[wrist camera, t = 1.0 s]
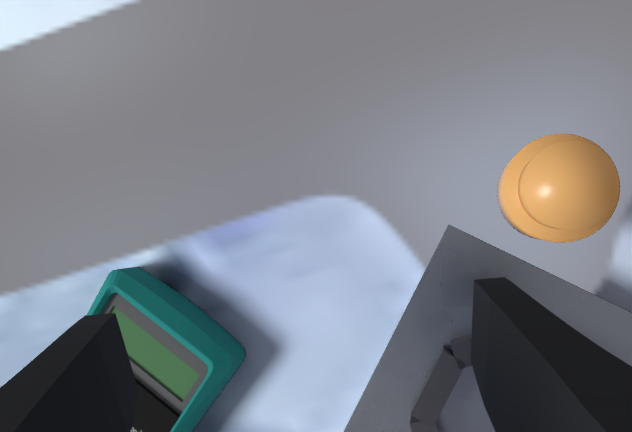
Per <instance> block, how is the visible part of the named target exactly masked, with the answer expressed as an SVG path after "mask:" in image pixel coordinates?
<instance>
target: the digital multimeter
mask: <svg viewBox="0 0 632 432" xmlns="http://www.w3.org/2000/svg"><path fill="white" fill-rule="evenodd" d="M108 313H115V314H116V317H117V320H118V324H119V327H120V330H121V334H122V337H123V340H124V344H125V347H126V350H127V354H128V357H129V360H130V364H131V367H132V370H133V374H134V377H135V380H136V384H137V387H138V396H137V401H136V407H135V412H134V417H133V422H132V427H131V431H130V432H193V430H194V429H195V427H196V426H197V424H198V423H199V421H200V420H201V419H202V417H203V416H204V415H205V413H206V412H207V410H208V409H209V408H210V406H211V405H212V404H213V402H214V401H215V399H216V398H217V397H218V395H219V394H220V393H221V391H222V390H223V388H224V387H225V386H226V384H227V383H228V382H229V380H230V379H231V378H232V376H233V375H234V373H235V372H236V371H237V369H238V368H239V367H240V365H241V364H242V362H243V361H244V359H245V349H244V348H243V347H242V346H241V345H240V344H239V343H238V342H237V341H236V340H235V339H234V338H233V337H232V336H231V335H230V334H229V333H227V332H226V331H225V330H224V329H223V328H222V327H221V326H220V325H219V324H217V323H216V322H215V321H214V320H213V319H212V318H211V317H209V316H208V315H207V314H206V313H205V312H204V311H202V310H201V309H200V308H199V307H197V306H196V305H195V304H193V303H192V302H191V301H189V300H188V299H187V298H185V297H184V296H183V295H181V294H180V293H178V292H177V291H175V290H174V289H172V288H171V287H169V286H168V285H167V284H165V283H164V282H162V281H160V280H159V279H157V278H156V277H154V276H152V275H151V274H149V273H148V272H146V271H144V270H143V269H141V268H139V267H132V268H125V269H118V270H113V271H112V272H111V273H110V274H109V275H108V277H107V278H106V280H105V282H104V284H103V286H102V288H101V289H100V291H99V293H98V295H97V297H96V299H95V300H94V302H93V304H92V306H91V308H90V310H89V312H88V313H87V315H98V314H108ZM87 315H86V316H87ZM174 424H175V425H174ZM172 427H173V428H172Z"/></svg>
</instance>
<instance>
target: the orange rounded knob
mask: <svg viewBox="0 0 632 432" xmlns="http://www.w3.org/2000/svg"><path fill="white" fill-rule="evenodd" d="M619 194H620V182H619V176H618V172H617V169H616V167H615V165H614V163H613V161H612V160H611V158H610V157H609V155H608V154H607V153H606V152H605V151H604V150H603V149H602V148H601V147H600V146H598V145H597V144H595V143H594V142H592V141H590V140H588V139H586V138H583V137H580V136H576V135H570V134H554V135H548V136H545V137H541V138H539V139H537V140H534V141H533V142H531V143H529V144H528V145H526V146H525V147H524V148H523V149H522V150H520V151H519V152H518V153H517V154H516V155H515V156H514V157H513V158H512V159H511V160H510V161H509V163H508V164H507V165H506V166H505V168H504V169H503V171H502V173H501V175H500V178H499V181H498V186H497V199H498V204H499V208H500V210H501V213H502V214H503V216H504V218H505V219H506V220H507V222H508V223H509V224H510V225H511V226H512V227H513V228H514V229H516V230H517V231H518V232H520V233H522V234H524V235H526V236H529V237H531V238H536V239H540V240H545V241H551V242H573V241H577V240H580V239H583V238H585V237H588V236H590V235H592V234H594V233H595V232H596V231H598V230H599V229H600V228H601V227H603V226H604V225H605V224H606V223H607V221H608V220H609V219H610V217H611V216H612V214H613V212H614V211H615V208H616V206H617V203H618V200H619Z"/></svg>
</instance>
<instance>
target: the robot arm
mask: <svg viewBox="0 0 632 432" xmlns="http://www.w3.org/2000/svg"><path fill="white" fill-rule="evenodd" d="M471 363H472V367H473V370H474V374H475V377H476V381H477V384H478V387H479V391H480V394H481V397H482V400H483V404H484V406H485V409H486V411H487V413H488V416H489V418H490V420H491V423H492V425H493V427H494V430H495V432H632V366H630V365H628V364H627V363H625V362H624V361H622V360H621V359H619V358H617V357H616V356H614V355H613V354H611V353H610V352H608V351H606V350H605V349H603V348H602V347H600V346H599V345H597V344H596V343H594V342H593V341H591V340H590V339H588V338H587V337H585V336H584V335H582V334H581V333H580V332H578V331H577V330H575V329H574V328H573V327H571V326H570V325H568V324H567V323H566V322H564V321H563V320H561V319H560V318H559V317H557V316H556V315H555V314H553V313H552V312H551V311H549V310H548V309H547V308H545V307H544V306H543V305H541V304H540V303H539V302H537V301H536V300H535V299H533V298H532V297H531V296H529V295H528V294H527V293H525V292H524V291H523V290H522V289H520V288H519V287H518V286H516V285H515V284H514V283H512V282H511V281H509V280H508V279H507V278H505V277H500V278H489V279H478V280H474V289H473V314H472V339H471ZM137 396H138V387H137V384H136V380H135V377H134V374H133V370H132V367H131V364H130V360H129V357H128V354H127V350H126V347H125V344H124V340H123V337H122V334H121V330H120V327H119V324H118V320H117V317H116V314H115V313H108V314H98V315H87V316H84V317H83V318H82V319H80V320H79V321H78V322H76V323H75V324H74V325H73V326H72V327H70V328H69V329H68V330H67V331H66V332H65V333H63V334H62V335H61V336H60V337H59V338H58V339H56V340H55V341H54V342H53V343H52V344H51V345H50V346H48V347H47V348H46V349H45V350H44V351H43V352H42V353H41V354H39V355H38V356H37V357H36V358H35V359H34V360H32V361H31V362H30V363H29V364H28V365H27V366H26V367H24V368H23V369H22V370H21V371H20V372H19V373H17V374H16V375H15V376H14V377H13V378H12V379H10V380H9V381H8V382H7V383H6V384H5V385H3V386H2V387H1V388H0V432H130V431H131V427H132V422H133V417H134V412H135V407H136V401H137Z"/></svg>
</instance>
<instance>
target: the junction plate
mask: <svg viewBox="0 0 632 432" xmlns="http://www.w3.org/2000/svg"><path fill="white" fill-rule="evenodd" d="M500 277H505V278H507V279H508V280H509V281H511V282H512V283H514V284H515V285H516V286H518V287H519V288H520V289H522V290H523V291H524V292H525V293H527V294H528V295H529V296H531V297H532V298H533V299H535V300H536V301H537V302H539V303H540V304H541V305H543V306H544V307H545V308H547V309H548V310H549V311H551V312H552V313H553V314H555V315H556V316H557V317H559V318H560V319H561V320H563V321H564V322H566V323H567V324H568V325H570V326H571V327H573V328H574V329H575V330H577V331H578V332H580V333H581V334H582V335H584V336H585V337H587V338H588V339H590V340H591V341H593V342H594V343H596V344H597V345H599V346H600V347H602V348H603V349H605V350H606V351H608V352H610V353H611V354H613V355H614V356H616V357H617V358H619V359H621V360H622V361H624V362H625V363H627V364H628V365H630V366H632V313H631V312H629V311H627V310H625V309H623V308H620V307H618V306H616V305H614V304H612V303H610V302H608V301H606V300H604V299H602V298H600V297H598V296H596V295H594V294H591V293H589V292H587V291H585V290H583V289H581V288H579V287H577V286H575V285H573V284H571V283H569V282H567V281H565V280H563V279H560V278H558V277H556V276H554V275H552V274H550V273H548V272H546V271H544V270H542V269H540V268H538V267H535V266H533V265H531V264H529V263H527V262H525V261H523V260H521V259H519V258H517V257H515V256H513V255H511V254H508V253H506V252H505V251H502V250H500V249H498V248H496V247H494V246H492V245H490V244H488V243H486V242H484V241H482V240H480V239H478V238H475V237H474V236H471V235H469V234H467V233H465V232H463V231H461V230H459V229H457V228H455V227H453V226H451V225H448V227H447V229H446V231H445V233H444V235H443V237H442V239H441V241H440V243H439V245H438V247H437V249H436V250H435V252H434V255H433V256H432V258H431V260H430V262H429V264H428V266H427V268H426V270H425V272H424V274H423V276H422V278H421V280H420V282H419V284H418V286H417V288H416V290H415V292H414V294H413V296H412V298H411V300H410V302H409V304H408V306H407V308H406V310H405V312H404V314H403V316H402V318H401V320H400V322H399V324H398V326H397V328H396V330H395V332H394V333H393V335H392V337H391V339H390V341H389V343H388V345H387V347H386V349H385V351H384V353H383V355H382V357H381V359H380V361H379V363H378V365H377V367H376V369H375V371H374V373H373V375H372V377H371V379H370V381H369V383H368V385H367V387H366V389H365V391H364V393H363V395H362V397H361V399H360V401H359V403H358V405H357V407H356V409H355V411H354V413H353V415H352V416H351V418H350V420H349V422H348V424H347V426H346V428H345V430H344V432H495V430H494V427H493V425H492V423H491V420H490V418H489V416H488V413H487V411H486V409H485V406H484V404H483V400H482V397H481V394H480V391H479V387H478V384H477V381H476V377H475V374H474V370H473V367H472V363H471V339H472V314H473V289H474V280H478V279H489V278H500Z"/></svg>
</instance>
